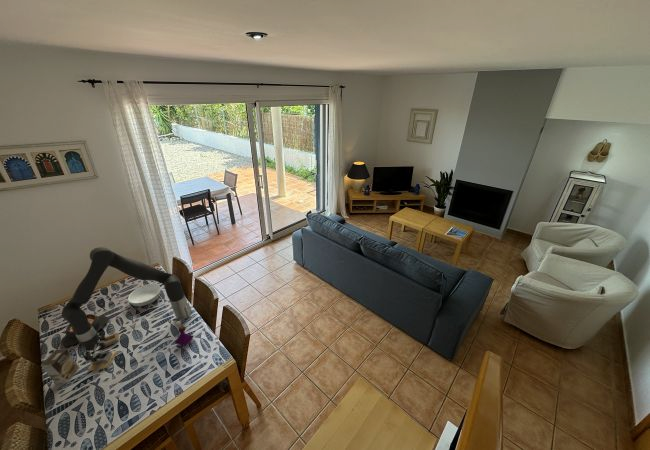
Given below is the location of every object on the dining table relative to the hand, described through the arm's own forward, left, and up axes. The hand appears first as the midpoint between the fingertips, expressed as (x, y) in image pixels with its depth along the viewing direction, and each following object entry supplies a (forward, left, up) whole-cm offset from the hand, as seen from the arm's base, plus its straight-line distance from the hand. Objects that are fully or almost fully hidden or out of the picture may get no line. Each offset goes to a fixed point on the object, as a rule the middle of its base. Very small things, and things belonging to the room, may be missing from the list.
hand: (99, 354), depth 149 cm
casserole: (+23, -25, -7) cm, 35 cm away
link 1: (0, 0, -5) cm, 5 cm away
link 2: (+3, -14, -6) cm, 16 cm away
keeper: (0, 0, -6) cm, 6 cm away
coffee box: (+15, +6, -7) cm, 18 cm away
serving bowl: (-4, -50, -7) cm, 51 cm away
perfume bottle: (-44, -5, -6) cm, 45 cm away
